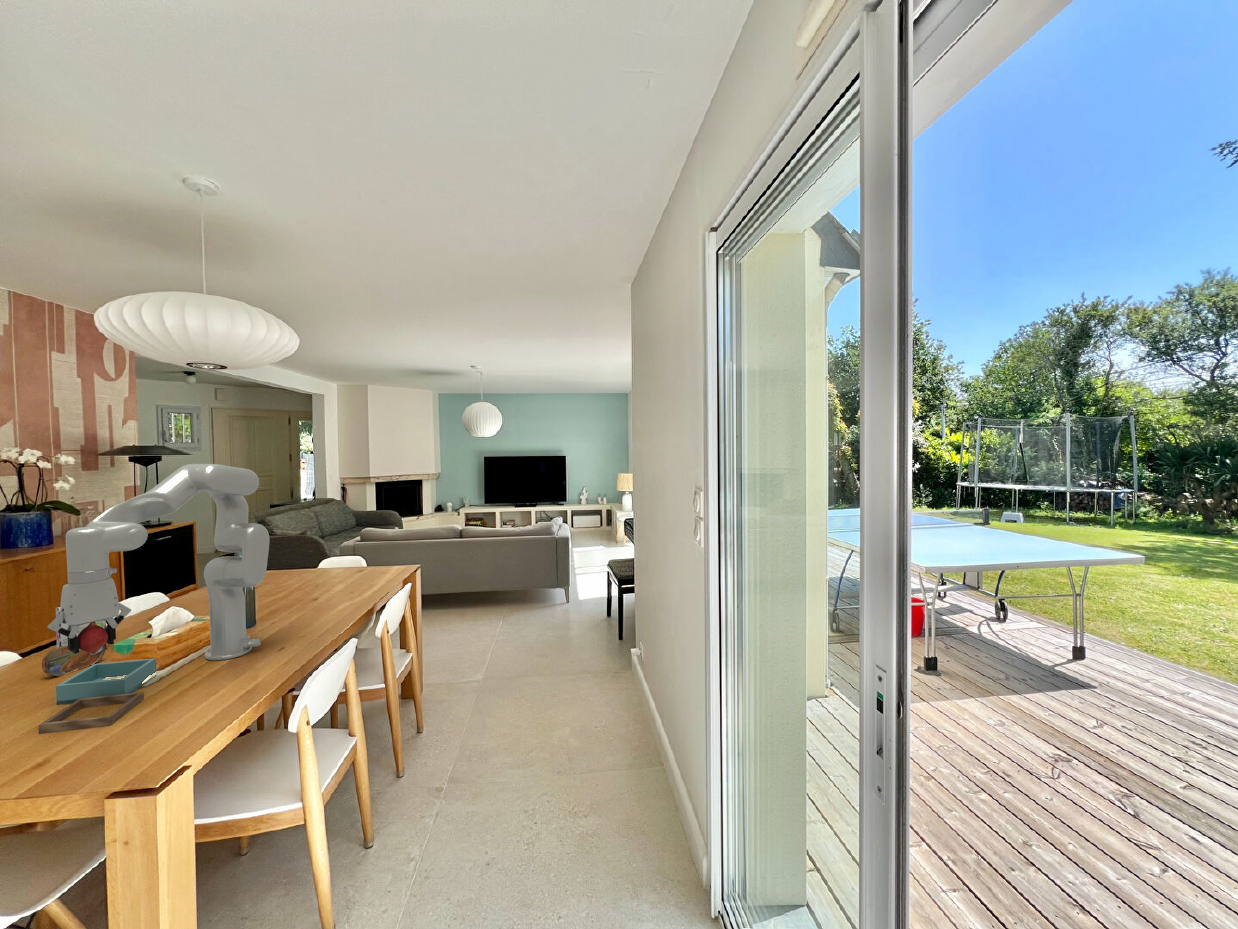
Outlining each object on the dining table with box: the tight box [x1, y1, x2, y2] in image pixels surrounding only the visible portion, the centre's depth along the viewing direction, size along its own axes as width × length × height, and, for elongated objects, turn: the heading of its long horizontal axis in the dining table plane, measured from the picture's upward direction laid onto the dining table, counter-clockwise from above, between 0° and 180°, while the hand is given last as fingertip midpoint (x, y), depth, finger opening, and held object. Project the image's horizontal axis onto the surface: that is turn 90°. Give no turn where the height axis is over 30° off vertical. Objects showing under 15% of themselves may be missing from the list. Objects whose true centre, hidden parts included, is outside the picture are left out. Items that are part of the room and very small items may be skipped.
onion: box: [77, 622, 108, 653], centre depth 137 cm, size 6×6×8 cm
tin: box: [41, 644, 106, 677], centre depth 165 cm, size 15×3×8 cm, turn 168°
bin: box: [55, 657, 158, 706], centre depth 152 cm, size 15×15×5 cm
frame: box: [37, 691, 145, 734], centre depth 137 cm, size 14×14×2 cm
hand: (92, 647), depth 137 cm, fingers closed on onion, 5 cm apart
